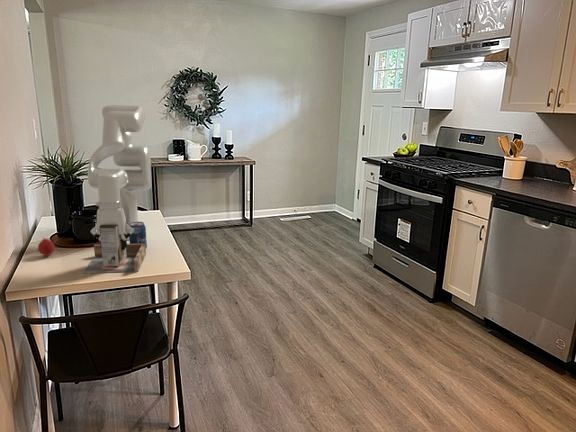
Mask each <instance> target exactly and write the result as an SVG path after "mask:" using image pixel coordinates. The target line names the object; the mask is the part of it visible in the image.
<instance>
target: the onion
mask: <svg viewBox="0 0 576 432" xmlns="http://www.w3.org/2000/svg"><path fill="white" fill-rule="evenodd" d="M37 249H38V252H39V253H40V254H41V255H43V256H44V257H46V258H47V257H50V256H51V255H52V254H53V253H54V251H55V244H54V243H53V242H52V240H49V239H47V238H46V237H43V238H42V241H40V242H39V244H38V246H37Z"/></svg>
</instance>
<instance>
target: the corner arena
mask: <svg viewBox="0 0 576 432" xmlns="http://www.w3.org/2000/svg"><path fill="white" fill-rule="evenodd" d="M93 250H94V251H93V252H94V257H93V258H92V259H91V261H90V262H89V264H88V265H87V266H86V267H85V268H84V270H83V272H82V273H81V274H84V275H85V274H112V273H113V274H114V273H115V274H116V273H138V272H139V271H140V269H141V267H142V264H143V262H144V260H145V258H146V256H147V252H146V251H147V248H145V244H130V243H127V247H126V254H127V257H126V258H125V260H124V261H123V262H122V263H121V264H120V265H119V266H104V265H103V257H102V248H101V246H100V244H94V245H93Z"/></svg>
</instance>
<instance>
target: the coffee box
mask: <svg viewBox="0 0 576 432" xmlns="http://www.w3.org/2000/svg"><path fill="white" fill-rule="evenodd" d="M99 227H100V237H101V247H102V257H103V265H104V266H119V265H120V264H121V263H122V262H123V261H124V260H125V258H126V257H127V254H126V248H125V250H122V237H121V236H120V235H119V230H118V225H100V226H99Z"/></svg>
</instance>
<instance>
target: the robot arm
mask: <svg viewBox="0 0 576 432" xmlns="http://www.w3.org/2000/svg"><path fill="white" fill-rule="evenodd" d="M101 114H102V118H103V123H102V143H101V145H100V146H98V148H97V149H95V150H94V152H93V154H92V155H91V156H90V157H89V160H88V165H87V167H88V168H87V180H88V181H87V182H88V184H89V186H90V188H93V189H97V191H98V192H97V193H98V201H96V202H95V203H94V204H95V206H96V207H98V209H97V211H96V225H95V226H94V227H92V229H91V230H90V234H92V235H93V236H94V237H95V238H97V240H98V241H99V245H100V246H101V237H100V227H99V226H100V225H118V230H119V235H120V236H121V237H122V250H125V248H126V247H127V244H128V241H129V236H130V235H131V234H132V233H133V232H134V229H133V228H132V227H131V226H130V223H132V222H139V217H138V216H139V214H138V213H139V212H138V204H137V202H138V201H137V198H136V196H135V194H133V192H131V191H148V190H150V189H151V188H152V183H153V182H152V164H151V162H152V161H151V152H150V150H149V147H147V146H145V145H134V144H133V135H132V133H139V132H140V131H141V130H142V128H143V125H144V124H145V119H146V118H145V117H146V114H145V110H144V109H143V107H142V106H141V105H124V104H123V105H122V104H109V105H105V106H104V107H102V109H101ZM110 157H112V159H113V160H112V161H113V162H114V165H115V166H117V167H123V168H125V167H126V168H128V167H133V168H134V167H138V168H140V169H121V168H98V167H99V165H100V164H101V163H102V161H104V160H106V159H108V158H110ZM101 248H102V247H101Z"/></svg>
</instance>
